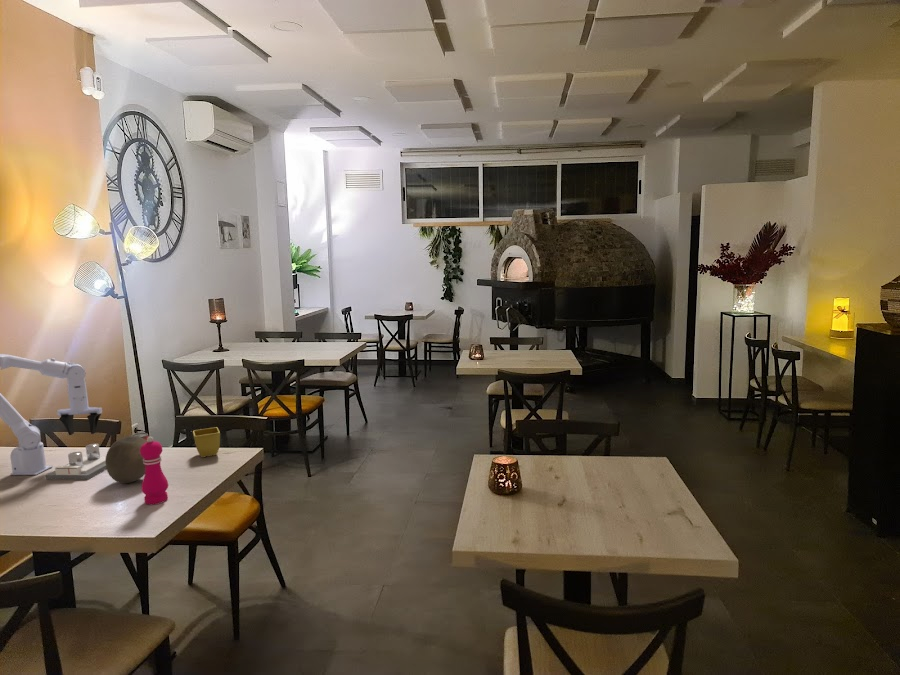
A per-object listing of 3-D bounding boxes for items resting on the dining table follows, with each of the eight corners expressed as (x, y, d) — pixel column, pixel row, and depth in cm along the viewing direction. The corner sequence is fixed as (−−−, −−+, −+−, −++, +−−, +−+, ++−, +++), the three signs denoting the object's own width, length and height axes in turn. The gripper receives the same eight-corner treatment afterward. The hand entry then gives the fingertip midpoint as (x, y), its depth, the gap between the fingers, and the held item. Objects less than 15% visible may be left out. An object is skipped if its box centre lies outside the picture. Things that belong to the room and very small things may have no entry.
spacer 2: (84, 460, 211) (83, 447, 210) (92, 456, 215) (90, 443, 214) (95, 460, 211) (93, 447, 210) (102, 456, 214) (101, 443, 214)
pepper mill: (158, 506, 176) (152, 441, 173) (137, 504, 177) (130, 440, 174) (174, 496, 183) (168, 433, 180) (154, 495, 184) (147, 432, 181)
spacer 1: (67, 469, 202) (65, 455, 202) (76, 465, 206) (74, 451, 206) (77, 469, 202) (75, 455, 201) (86, 465, 206) (84, 451, 205)
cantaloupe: (112, 493, 186) (107, 447, 184) (104, 480, 197) (99, 437, 195) (161, 481, 195) (156, 437, 193) (150, 470, 206) (146, 428, 204)
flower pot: (194, 453, 223) (192, 430, 221) (219, 449, 227) (217, 426, 225) (196, 460, 215) (194, 436, 214) (222, 456, 219) (220, 432, 218)
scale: (46, 479, 200) (44, 467, 199) (81, 461, 217) (79, 450, 216) (88, 479, 199) (87, 467, 198) (120, 461, 216) (118, 450, 215)
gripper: (50, 400, 209) (55, 438, 211) (93, 398, 210) (98, 435, 212) (61, 396, 216) (66, 432, 218) (103, 394, 217) (107, 430, 219)
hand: (82, 433), depth 216 cm, fingers open, 7 cm apart
